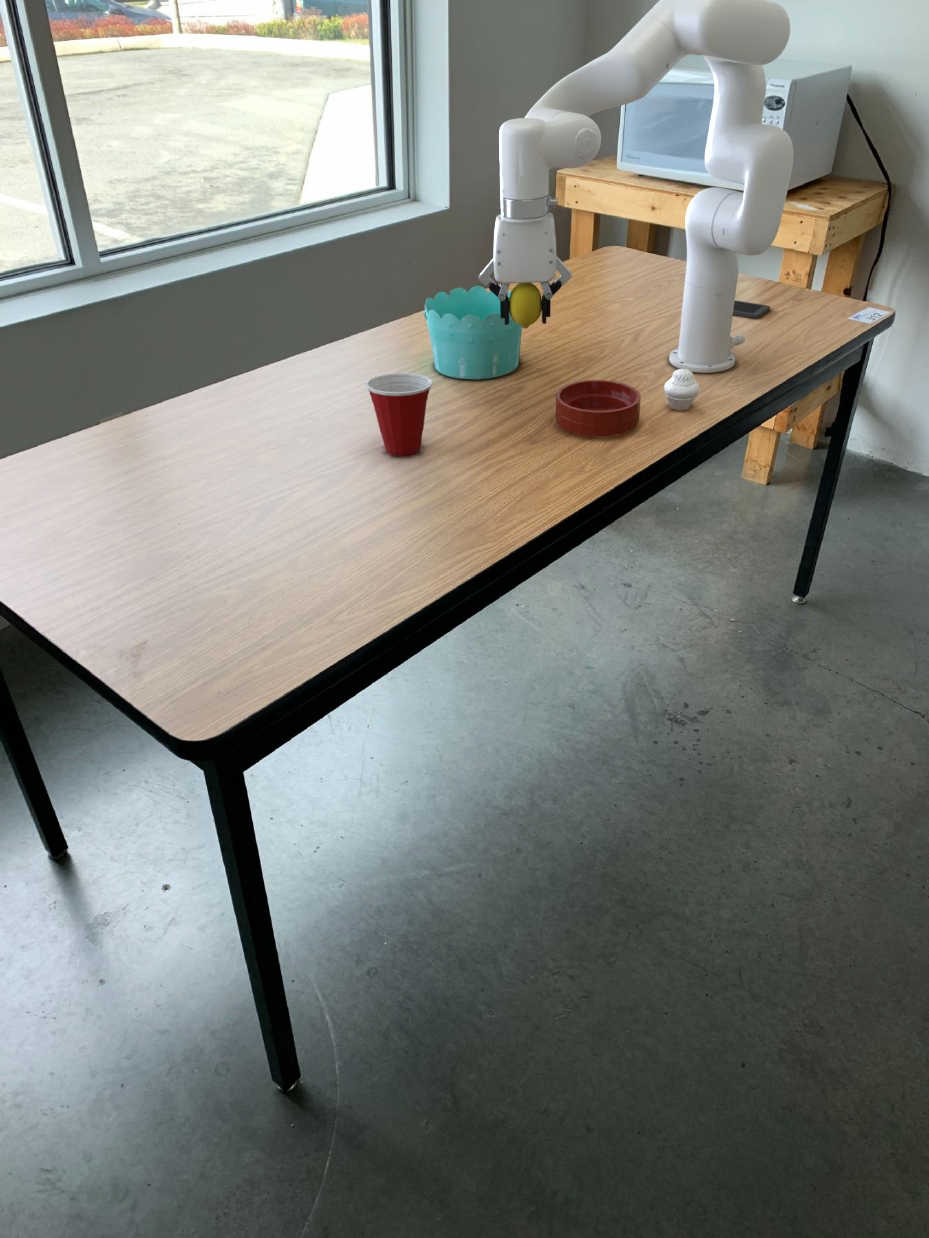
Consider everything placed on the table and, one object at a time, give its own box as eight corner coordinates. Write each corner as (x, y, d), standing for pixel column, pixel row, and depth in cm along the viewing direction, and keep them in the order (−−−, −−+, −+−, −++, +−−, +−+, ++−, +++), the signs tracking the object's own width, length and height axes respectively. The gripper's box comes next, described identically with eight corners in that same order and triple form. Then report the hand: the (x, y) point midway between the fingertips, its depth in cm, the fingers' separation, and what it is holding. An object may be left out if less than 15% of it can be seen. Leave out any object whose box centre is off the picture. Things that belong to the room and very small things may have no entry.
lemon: (539, 334, 160) (539, 285, 156) (506, 333, 161) (505, 285, 157) (544, 323, 165) (544, 275, 160) (512, 322, 166) (511, 274, 161)
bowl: (600, 400, 176) (601, 373, 173) (655, 425, 167) (657, 397, 164) (539, 420, 170) (539, 393, 167) (592, 447, 160) (594, 419, 157)
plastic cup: (445, 439, 164) (442, 371, 158) (422, 467, 156) (418, 396, 149) (386, 432, 168) (380, 365, 161) (360, 459, 159) (353, 389, 152)
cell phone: (758, 318, 210) (758, 315, 209) (698, 308, 216) (698, 305, 216) (770, 309, 214) (771, 306, 214) (711, 300, 221) (712, 296, 221)
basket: (413, 375, 189) (409, 309, 182) (450, 344, 203) (447, 282, 195) (505, 386, 183) (505, 318, 175) (536, 354, 196) (537, 289, 189)
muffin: (704, 405, 173) (708, 367, 169) (685, 416, 169) (689, 378, 165) (674, 397, 176) (678, 360, 172) (655, 407, 173) (658, 369, 169)
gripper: (578, 200, 154) (575, 313, 165) (470, 203, 155) (475, 315, 166) (580, 211, 148) (578, 328, 159) (468, 215, 149) (473, 330, 160)
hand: (525, 320), depth 162 cm, fingers closed on lemon, 5 cm apart
